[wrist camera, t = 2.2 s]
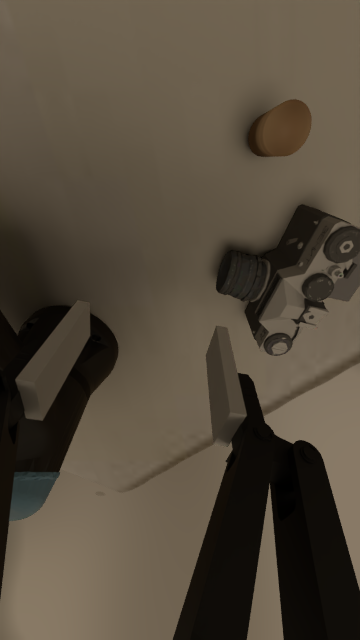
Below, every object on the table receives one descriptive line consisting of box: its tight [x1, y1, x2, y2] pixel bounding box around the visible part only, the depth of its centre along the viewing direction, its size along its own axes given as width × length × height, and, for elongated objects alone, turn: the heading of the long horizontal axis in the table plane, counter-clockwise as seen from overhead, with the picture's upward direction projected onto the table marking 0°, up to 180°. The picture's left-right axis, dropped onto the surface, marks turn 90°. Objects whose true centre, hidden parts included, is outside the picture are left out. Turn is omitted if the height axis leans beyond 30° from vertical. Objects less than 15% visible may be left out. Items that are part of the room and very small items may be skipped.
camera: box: [216, 205, 360, 356], centre depth 27 cm, size 16×10×10 cm, turn 165°
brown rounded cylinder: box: [248, 100, 311, 157], centre depth 21 cm, size 3×3×8 cm
